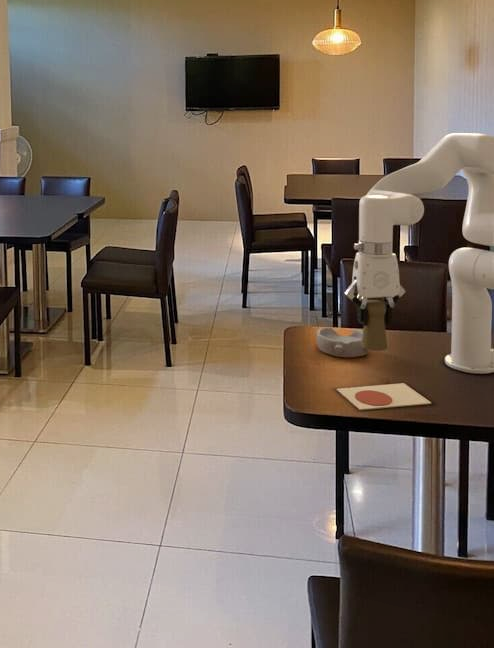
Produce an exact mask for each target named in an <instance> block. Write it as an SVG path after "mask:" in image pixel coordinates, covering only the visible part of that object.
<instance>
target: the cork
mask: <svg viewBox="0 0 494 648" xmlns="http://www.w3.org/2000/svg"><path fill="white" fill-rule="evenodd" d="M366 309H367V310H368V323H367V326H364V325H363V328H362V332H363V335H362V342H361V346H362V347H363V348H365V349H368V351H375V352H381V351H386V350H388V340H387V331H386V325H385V324H386V323H385V322H384V315H385V313H386V305H385V304H384V301H381V300H378V299H368V301H367V304H366Z"/></svg>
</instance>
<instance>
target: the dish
mask: <svg viewBox="0 0 494 648" xmlns="http://www.w3.org/2000/svg"><path fill="white" fill-rule="evenodd" d="M362 335H363V330H359V329H355V330H354V331H352V333H351V334H348V335H341V334H339V333H338V332H336V330H334V328H333V327H332V326H326V327H322V328H319V329H317V334H316V343H317V347H318V349H319V350H320V352H323V353H325V354H326V355H327V354H328V355H329V356H330V355H331V356H335V357H337V358H338V357H339V358H340V357H341V358H358V357H363V356H366V355H367V354H368V352H369V350H368V349H365V348H363V347H362V346H361V342H362Z"/></svg>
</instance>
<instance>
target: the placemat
mask: <svg viewBox="0 0 494 648" xmlns="http://www.w3.org/2000/svg"><path fill="white" fill-rule="evenodd" d="M336 391H337V392H338V393H339V394H341V395H342V396H343V397H344V398H345V399H346V400H347V401H349V402H350V403H351V404H352V405H353V406H354V407H356V408H357V409H358V410H359V411H366V410H367V411H368V410H379V409H391V408H399V407H400V408H401V407H402V408H403V407H412V406H423V405H425V406H426V405H432V404H433V403H432V402H431V400H428V399H427V398H425V397H424V396H423V395H421V394H420V393H418V392H417V391H416V390H414V389H413V388H412V387H410V386H409V385H408V384H406V383H404V382H402V383H401V382H400V383H389V384H377V385H365V386H352V387H342V388H341V387H339V388H336Z"/></svg>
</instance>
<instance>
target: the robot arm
mask: <svg viewBox="0 0 494 648" xmlns="http://www.w3.org/2000/svg"><path fill="white" fill-rule="evenodd" d="M460 171H462V172H463V175H464V176H465V179H466V182H467V186H468V194H467V200H466V205H465V211H464V215H463V220H462V229H461V231H462V236H463V238H464V239H465V240H467V241H468V242H470V243H473V244H478V245H483V246H487V247H494V135H491V134H484V133H469V132H468V133H467V132H466V133H464V132H453V133H449V134H446V135H445V136H443V137H442V138H441V139H440V140H439V141H438V142H437V143H436V144H435V145H434V146H432V148H431V149H430V150H429V151H428V152H427V153H426V154H425V155H424V156H423V157H422V158H421V159H420V160H419V161H418V162H416V163H412V164H410V165H408V166H405V167H403V168H401V169H397V170H396V171H393V172H391V173H389V174H387V175H385V176H383V177H382V178H381V179H380V180H379V181H377V182H376V183H375V184H374V185H373V186H372V188H371V187H370V189H369V190H368V192H367V193H366V195H364V196H363V195H362V197H360V199H359V202H358V203H359V206H358V207H359V208H358V240H357V243H354V244H353V249H354V250H355V251H358V252H356V253H355V257H354V262H353V267H352V278H351V279H352V280H351V284H350V285H349V286H348V287H347V289H346V290H345V291H344V295H345V296H346V297H347V299H349V300H350V301H351V302H352V303H353V304H354V305H355V306H356V307H357V308H356V310H357V312H356V313H357V314H356V317H357V319H356V320H357V321H358V323H360V324H361V325H362V326H363V327H364V326H367V323H368V310H367V309H366V304H367V301H368V300H369V299H374V298H375V299H376V298H382V302H383V303H384V304H385V305H386V313H385V315H384V323H385V324H387V325H390V324H392V318H393V308H394V307H395V304H396V303H397V302H398V301H399V299H400V298H401V297H402V296H403V295H404V294H406V290H405V288H404V287H403V286H402V285H401V284H400V281H401V280H400V270H399V263H398V258H397V254H396V253H394V252H393V238H394V237H393V236H394V226H412V225H414V224H416V223H418V222H419V221H421V219H422V218H423V216H424V214H425V206H424V203H423V201H422V200H421V199H420V198H419V197H417V196H416V194H423V193H428V192H429V193H430V192H433V191H434V192H435V191H437V190H441V189H443V188H444V187H446V186H447V185H448V183H449V182H450V181H451V180H452V179H454V177H455V176H456V175H457V174H458V173H459V172H460ZM448 272H449V276H450V283H451V299H452V300H451V344H450V345H451V346H450V349H451V351H450V354H447V355H446V356H445V357H444V363H445V365H446V366H447V367H449V368H451V369H453V370H455V371H456V370H457V371H460V372H463V373H469V374H478V375H483V374H484V375H485V374H491V373H494V348H492V319H493V316H492V314H493V302H492V298H491V295H490V293H489V291H488V290H493V291H494V251H489V250H487V249H486V250H485V249H482V248H481V249H480V248H475V247H460V248H457V249H455V250H453V252H452V253H451V254H450V255H449V259H448ZM354 294H357V296H356V295H354Z"/></svg>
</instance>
